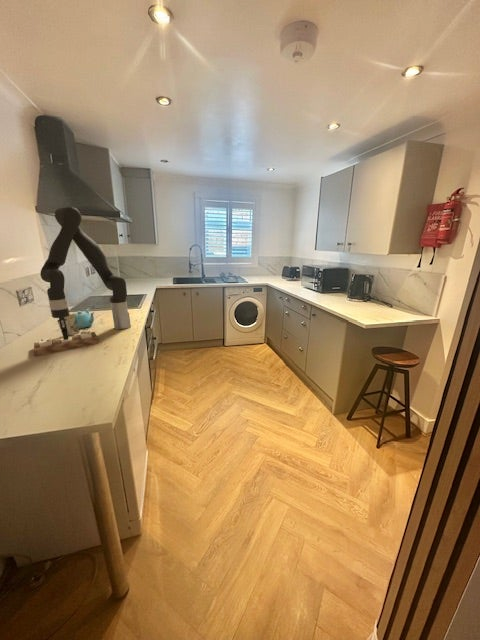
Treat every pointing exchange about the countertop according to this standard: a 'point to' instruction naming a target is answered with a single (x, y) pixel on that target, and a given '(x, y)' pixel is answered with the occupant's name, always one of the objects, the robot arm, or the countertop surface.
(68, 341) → the button one
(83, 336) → the button three
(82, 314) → the teapot
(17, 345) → the countertop surface
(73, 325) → the box
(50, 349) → the button panel
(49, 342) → the button two
